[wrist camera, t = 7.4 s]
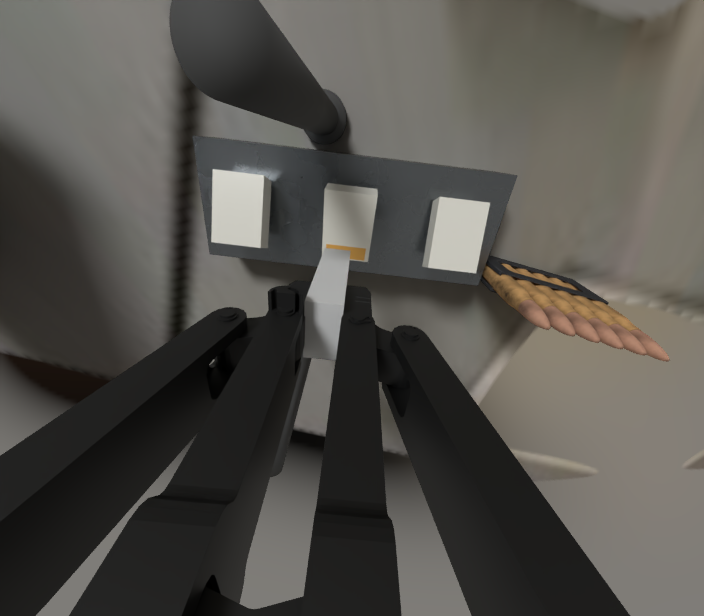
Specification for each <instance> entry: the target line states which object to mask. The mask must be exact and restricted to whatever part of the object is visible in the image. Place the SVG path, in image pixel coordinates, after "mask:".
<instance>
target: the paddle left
mask: <svg viewBox="0 0 704 616" xmlns="http://www.w3.org/2000/svg"><path fill="white" fill-rule="evenodd" d="M271 183H272V181H270V180H269V179H268V178H267V177H266V176H264V175H257V174H249V173H241V172H233V171H224V170H216V169H213V177H212V234H211V242H214V243H222V244H231V245H239V246H248V247H256V248H268V237H269V219H270V201H271Z"/></svg>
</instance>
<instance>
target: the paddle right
mask: <svg viewBox="0 0 704 616" xmlns="http://www.w3.org/2000/svg"><path fill="white" fill-rule="evenodd" d="M489 207H490V203H488V202H480V201H472V200H464V199H455V198H447V197H438V198H437V199H435V200H434V201H433V203H432V210H431V216H430V222H429V228H428V234H427V240H426V246H425V252H424V259H423V265H422V267H427V268H434V269H443V270H451V271H460V272H468V273H476V271H477V266H478V261H479V256H480V251H481V246H482V241H483V236H484V231H485V226H486V221H487V216H488V211H489Z"/></svg>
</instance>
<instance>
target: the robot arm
mask: <svg viewBox="0 0 704 616" xmlns="http://www.w3.org/2000/svg"><path fill="white" fill-rule="evenodd" d="M350 252H351V251H348V250H339V249H331V248H325V249H324V252H323V254H322V257H321V260H320V262H319V265H318V267H317V270H316V273H315V275H314V278H313V281H312V282H305V281H295V282H293V283H291V284H290V285H289V286H277V287H274V288H271V289H270V290H269V291H268V305H269V311H268V312H267V314H266V316H263V317H257V318H247V316H246V313H245V311H244V310H241V309H239V308H233V307H229V308H228V307H226V308H222V309H218V310H216V311H214V312H212V313H210V314H209V315H207V316H206V317H204V318H203V319H202V320H200V321H199V322H197V323H196V324H194V325H193V326H191V327H190V328H188V329H187V330H185V331H184V332H182V333H181V334H179V335H178V336H176V337H175V338H173V339H172V340H171V341H169V342H168V343H166V344H165V345H163V346H162V347H160V348H159V349H157V350H156V351H154V352H153V353H151V354H150V355H148V356H147V357H145V358H144V359H142V360H141V361H139V362H138V363H137V364H135V365H134V366H132V367H131V368H129V369H128V370H126V371H125V372H123V373H122V374H120V375H119V376H117V377H116V378H114V379H113V380H111V381H110V382H109V383H107V384H106V385H104V386H103V387H101V388H100V389H98V390H97V391H95V392H94V393H92V394H91V395H89V396H88V397H86V398H85V399H83V400H82V401H80V402H79V403H78V404H76V405H75V406H73V407H72V408H70V409H69V410H67V411H66V412H64V413H63V414H61V415H60V416H58V417H57V418H55V419H54V420H53V421H51V422H50V423H48V424H46V425H45V426H44V427H42V428H41V429H39V430H38V431H36V432H35V433H33V434H32V435H30V436H29V437H27V438H26V439H24V440H23V441H21V442H20V443H18V444H17V445H16V446H14V447H13V448H11V449H10V450H8V451H7V452H5V453H4V454H2V455H1V456H0V616H36V614H37V613H38V612H39V611H40V610H41V609H42V608H43V607H44V606H45V605H46V604H47V603H48V602H49V600H50V599H51V598H52V597H53V596H54V595H55V594H56V593H57V591H58V590H59V589H60V588H61V587H62V586H63V585H64V583H65V582H66V581H67V580H68V579H69V578H70V577H71V576H72V574H73V573H74V572H75V571H76V570H77V569H78V568H79V566H80V565H81V564H82V563H83V562H84V561H85V560H86V559H87V557H88V556H89V555H90V554H91V553H92V552H93V551H94V549H95V548H96V547H97V546H98V545H99V544H100V542H101V541H102V540H103V539H104V538H105V537H106V536H107V535H108V534H109V532H110V531H111V530H112V529H113V528H114V527H115V526H116V525H117V523H118V522H119V521H120V520H121V519H122V518H123V516H124V515H125V514H126V513H127V512H128V511H129V510H130V509H131V508H132V506H133V505H134V504H135V503H136V502H137V501H138V500H139V498H140V497H141V496H142V495H143V494H144V493H145V492H146V491H147V489H148V488H149V487H150V486H151V485H152V484H153V483H154V482H155V480H156V479H157V478H158V477H159V476H160V475H161V473H162V472H163V471H164V470H165V469H166V468H167V467H168V466H169V464H170V463H171V462H172V461H173V460H174V459H175V458H176V457H177V455H178V454H179V453H180V452H181V451H182V450H183V449H184V448H185V446H186V445H187V444H188V443H189V442H190V441H191V440H192V439H193V437H194V436H195V435H196V434H197V433H198V434H197V436H196V438H195V439H194V441H193V443H192V445H191V446H190V448H189V450H188V452H187V453H186V455H185V457H184V458H183V460H182V462H181V464H180V466H179V467H178V469H177V471H176V473H175V474H174V476H173V478H172V479H171V481H170V483H169V484H168V486H167V487H166V489H165V490H164V491H163V492H162V493H161V494H160V495H158V496H154V497H151V498H148V499H147V500H146V501H145V502H143V503H142V504H141V505H140V506H139V507H138V509H137V510H136V511H135V513H134V514H133V515H132V517H131V518H130V519H129V521H128V522H127V524H126V526H125V527H124V529H123V530H122V532H121V534H120V535H119V537H118V539H117V540H116V542H115V543H114V545H113V547H112V548H111V550H110V551H109V553H108V554H107V556H106V558H105V559H104V561H103V563H102V564H101V566H100V567H99V569H98V570H97V572H96V574H95V575H94V577H93V578H92V580H91V582H90V583H89V585H88V586H87V588H86V590H85V591H84V593H83V594H82V596H81V598H80V599H79V601H78V602H77V604H76V606H75V607H74V609H73V610H72V612H71V614H70V615H69V616H401V605H400V592H399V580H398V568H397V555H396V544H395V535H394V528H393V524H392V520H391V519H390V518H389V517H388V514H387V507H386V494H385V479H384V463H383V446H382V430H381V414H380V398H379V382H382V389H383V391H384V394H385V396H386V399H387V401H388V404H389V406H390V409H391V411H392V414H393V417H394V419H395V422H396V424H397V427H398V429H399V432H400V434H401V437H402V439H403V442H404V445H405V447H406V450H407V452H408V455H409V457H410V460H411V462H412V465H413V467H414V470H415V473H416V475H417V478H418V480H419V483H420V485H421V488H422V490H423V493H424V495H425V498H426V501H427V503H428V506H429V508H430V510H431V513H432V516H433V518H434V521H435V523H436V526H437V529H438V531H439V534H440V536H441V539H442V541H443V544H444V546H445V549H446V551H447V554H448V557H449V559H450V562H451V564H452V567H453V569H454V572H455V574H456V577H457V579H458V582H459V585H460V587H461V590H462V592H463V595H464V597H465V600H466V602H467V605H468V608H469V610H470V612H471V615H472V616H630V615H629V614H628V612H627V611H626V610H625V608H624V607H623V605H622V604H621V603H620V601H619V600H618V599H617V597H616V596H615V594H614V593H613V592H612V590H611V589H610V587H609V586H608V585H607V583H606V582H605V580H604V579H603V578H602V576H601V575H600V574H599V572H598V571H597V569H596V568H595V567H594V565H593V564H592V562H591V561H590V560H589V558H588V557H587V556H586V554H585V553H584V552H583V550H582V549H581V547H580V546H579V545H578V543H577V542H576V541H575V539H574V538H573V536H572V535H571V533H570V532H569V531H568V529H567V528H566V527H565V525H564V524H563V522H562V521H561V520H560V518H559V517H558V516H557V514H556V513H555V511H554V510H553V509H552V507H551V506H550V504H549V503H548V502H547V500H546V499H545V498H544V496H543V495H542V494H541V492H540V491H539V489H538V488H537V487H536V485H535V484H534V482H533V481H532V480H531V478H530V477H529V476H528V474H527V473H526V471H525V470H524V469H523V467H522V466H521V464H520V463H519V462H518V460H517V459H516V458H515V456H514V455H513V453H512V452H511V451H510V449H509V448H508V447H507V445H506V444H505V442H504V441H503V440H502V438H501V437H500V435H499V434H498V433H497V431H496V430H495V429H494V427H493V426H492V424H491V423H490V422H489V420H488V419H487V418H486V416H485V415H484V413H483V412H482V411H481V409H480V408H479V406H478V405H477V404H476V402H475V401H474V400H473V398H472V397H471V395H470V394H469V393H468V391H467V390H466V389H465V387H464V386H463V384H462V383H461V382H460V380H459V379H458V378H457V376H456V375H455V373H454V372H453V371H452V369H451V368H450V366H449V365H448V364H447V362H446V361H445V360H444V358H443V357H442V355H441V354H440V353H439V351H438V350H437V349H436V347H435V346H434V344H433V343H432V342H431V340H430V339H429V337H428V336H427V335H426V334H425V333H424V332H423V331H422V330H420V329H418V328H416V327H413V326H406V325H403V326H398V327H396V328H394V330H393V332H389V331H386V330H384V329H381V328H379V327H378V326H377V325H375V321H374V319H373V317H372V309H371V293H370V291H369V290H368V289H367V288H365V287H356V286H347V279H348V270H349V261H350ZM302 352H303V357H306V358H316V359H325V360H335V361H336V362H335V370H334V378H333V385H332V393H331V400H330V408H329V415H328V423H327V431H326V438H325V446H324V454H323V461H322V468H321V476H320V484H319V491H318V499H317V506H316V511H315V517H314V523H313V531H312V538H311V545H310V553H309V560H308V568H307V575H306V582H305V590H304V597H300V598H296V599H293V600H289V601H285V602H282V603H278V604H274V605H271V606H267V607H263V608H260V609H249V608H246V607H244V606H243V605H240V604H239V603H240V598H241V594H242V589H243V584H244V576H245V569H246V562H247V558H248V554H249V550H250V547H251V543H252V539H253V536H254V532H255V529H256V525H257V522H258V518H259V514H260V511H261V507H262V504H263V500H264V497H265V493H266V489H267V486H268V482H269V479H270V475H271V472H272V468H273V464H274V461H275V457H276V454H277V450H278V446H279V443H280V439H281V436H282V432H283V429H284V425H285V421H286V418H287V414H288V411H289V407H290V404H291V400H292V396H293V393H294V389H295V386H296V382H297V379H298V375H299V371H300V368H301V356H302ZM213 359H215V361H214V362H213V363H212V364H211V365H209V364H210V363H211V362H212V360H213ZM378 381H379V382H378Z"/></svg>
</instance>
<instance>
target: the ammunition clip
mask: <svg viewBox="0 0 704 616" xmlns="http://www.w3.org/2000/svg"><path fill="white" fill-rule="evenodd" d="M480 280H481V281H482V283H483V284H484V285H485V286H486V287H487V288H488V289H489V290H490V291H492V292H496V293H498V294H499V295H500V296H501V297H502V298H503V300H504V301H505V302H506V303H507V304H509V305H510V306H511V307H513V308H515V309H516V310H517V311H518V312H519V313H521V314H522V315H523V316H524V317H525V318H526V319H527V320H529V321H530V322H531V323H533V324H534V325H536V326H538V327H540V328H543V329H547V330H549V329H550V326H551V327H553V328H554V329H556V330H557V331H559V332H561V333H563V334H566V335H569V336H575V334H577V335H578V336H580V337H582V338H584V339H586V340H588V341H591V342H595V343H599V342H600V341H601V342H602V343H604V344H606V345H609V346H611V347H614V348H617V349H623V348H624V349H626V350H629V351H631V352H633V353H636V354H640V355H649V356H651V357H653V358H655V359H658V360H662V361H669V360H670V359H669V357H668V355H667V353H666V352H665V351H664V350H663V349H662V347H660V345H658V344H657V343H656V342H655V341H654V340H653V339H652V338H650V337H649V336H648V335H646V334H645V333H643V332H642V331H641V330H640V329H639V328H637V327H636V326H634V325H633V324H632V323H631V322H630V321H629V320H628V319H627V318H626V317H625V316H623V315H622V314H620V313H619V312H617V311H615V310H614V309H613V308H611V307H609V306H608V302H607V301H606V300H604V299H602V298H601V297H599V296H598V295H596V294H595V293H593V292H591V291H590V290H588V289H587V288H585V287H584V286H582V285H581V284H579V283H577V282H576V281H574V280H573V279H570V278H566V277H563V276H559V275H556V274H552V273H549V272H545V271H542V270H538V269H535V268H531V267H528V266H525V265H521V264H518V263H514V262H511V261H507V260H504V259H500V258H497V257H493V256H490V255H489V256H488V259H487V262H486V265H485V268H484V270H483V273H482V276H481V279H480Z"/></svg>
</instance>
